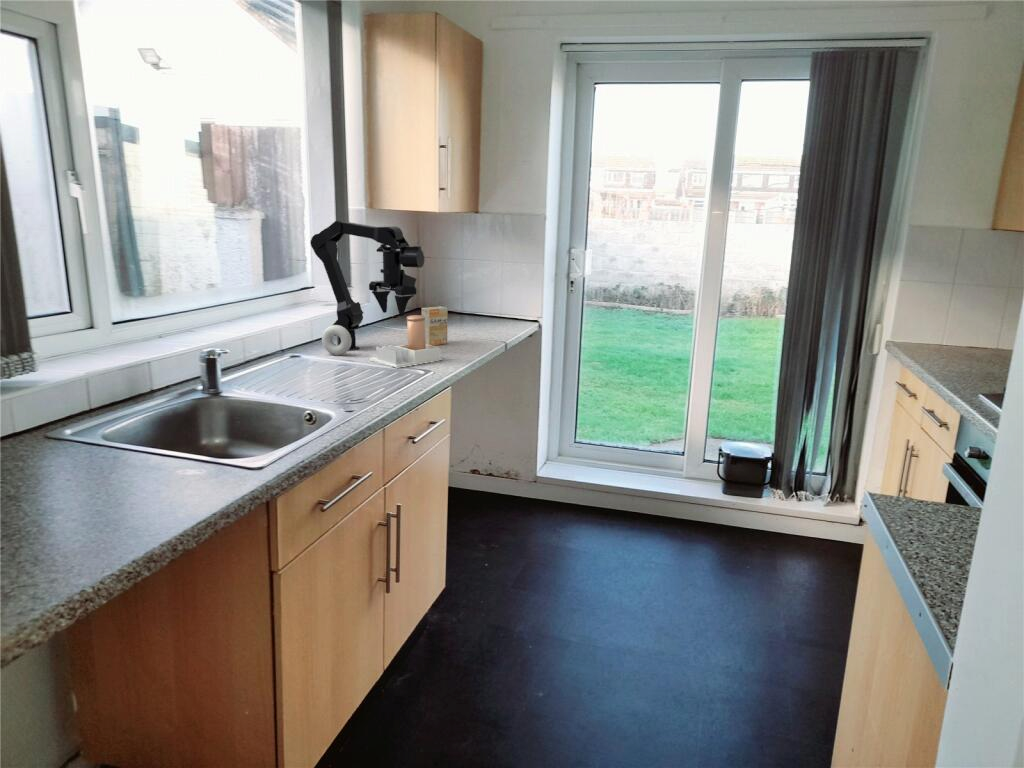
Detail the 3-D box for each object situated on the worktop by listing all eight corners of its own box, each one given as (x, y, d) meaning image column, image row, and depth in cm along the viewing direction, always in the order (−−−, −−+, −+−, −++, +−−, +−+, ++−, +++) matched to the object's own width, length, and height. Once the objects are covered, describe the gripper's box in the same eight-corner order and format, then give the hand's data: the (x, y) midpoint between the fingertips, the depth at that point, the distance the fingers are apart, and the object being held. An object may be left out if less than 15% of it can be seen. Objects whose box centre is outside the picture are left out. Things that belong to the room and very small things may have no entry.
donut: (320, 355, 232) (319, 325, 230) (325, 353, 236) (323, 323, 233) (349, 357, 231) (348, 326, 228) (353, 355, 234) (352, 324, 231)
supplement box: (429, 346, 249) (428, 309, 246) (421, 344, 253) (420, 307, 250) (448, 343, 255) (448, 307, 251) (440, 341, 258) (440, 305, 255)
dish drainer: (369, 361, 226) (369, 345, 224) (415, 353, 238) (414, 338, 237) (396, 368, 216) (396, 352, 215) (442, 360, 229) (442, 345, 227)
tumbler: (405, 356, 229) (404, 316, 225) (422, 354, 231) (421, 314, 228) (412, 360, 224) (410, 319, 220) (428, 358, 227) (427, 317, 223)
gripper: (429, 267, 230) (430, 315, 234) (395, 263, 243) (396, 308, 247) (401, 269, 222) (402, 318, 226) (367, 264, 235) (368, 311, 239)
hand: (393, 314), depth 235 cm, fingers open, 9 cm apart
